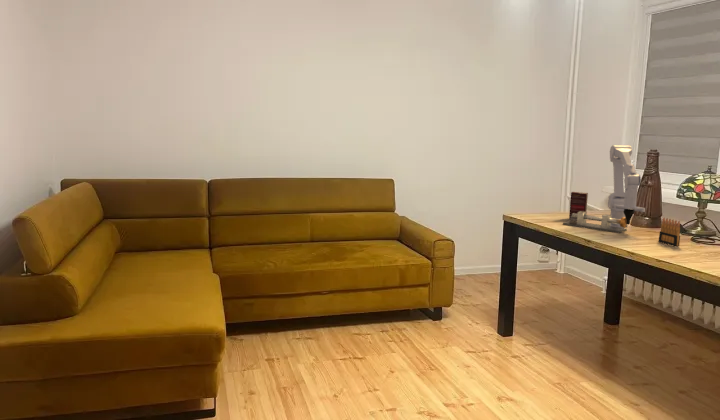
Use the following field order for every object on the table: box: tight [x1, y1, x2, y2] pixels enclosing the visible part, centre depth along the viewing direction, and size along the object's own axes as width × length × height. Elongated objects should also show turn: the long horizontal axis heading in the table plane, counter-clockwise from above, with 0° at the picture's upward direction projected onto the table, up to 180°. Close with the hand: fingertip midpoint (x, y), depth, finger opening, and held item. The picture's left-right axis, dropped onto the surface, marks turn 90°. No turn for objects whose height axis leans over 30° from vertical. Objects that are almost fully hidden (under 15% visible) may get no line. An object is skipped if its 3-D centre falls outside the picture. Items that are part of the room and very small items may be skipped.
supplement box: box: [568, 191, 589, 221], centre depth 317 cm, size 9×5×16 cm, turn 58°
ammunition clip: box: [658, 217, 681, 247], centre depth 258 cm, size 11×2×12 cm, turn 15°
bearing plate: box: [562, 211, 628, 234], centre depth 295 cm, size 10×30×8 cm, turn 46°
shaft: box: [572, 213, 628, 228], centre depth 293 cm, size 5×28×5 cm, turn 46°
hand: (627, 224), depth 283 cm, fingers closed
